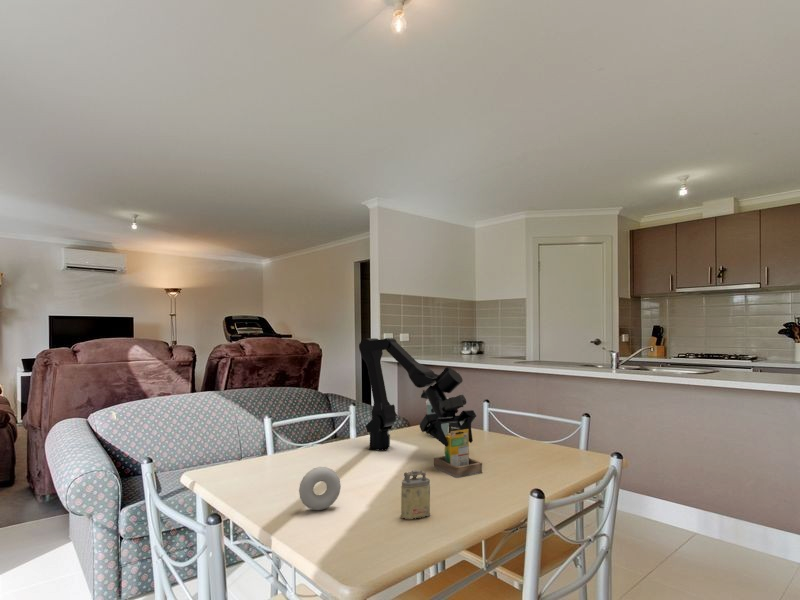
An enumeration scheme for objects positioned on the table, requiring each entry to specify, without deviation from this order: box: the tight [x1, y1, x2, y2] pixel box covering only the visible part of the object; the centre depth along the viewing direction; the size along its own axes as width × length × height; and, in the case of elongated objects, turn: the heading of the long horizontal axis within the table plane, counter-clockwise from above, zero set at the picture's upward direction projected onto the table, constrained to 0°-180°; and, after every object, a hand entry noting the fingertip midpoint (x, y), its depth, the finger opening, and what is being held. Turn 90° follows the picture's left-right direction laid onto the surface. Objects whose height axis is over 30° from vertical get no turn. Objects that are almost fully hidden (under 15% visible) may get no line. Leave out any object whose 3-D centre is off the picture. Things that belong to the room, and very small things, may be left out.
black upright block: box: [448, 422, 462, 434], centre depth 161 cm, size 7×4×11 cm, turn 47°
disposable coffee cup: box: [425, 397, 449, 438], centre depth 184 cm, size 11×11×15 cm
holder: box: [433, 455, 483, 479], centre depth 141 cm, size 10×12×3 cm
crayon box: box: [444, 429, 470, 467], centre depth 142 cm, size 7×3×12 cm, turn 122°
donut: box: [298, 466, 342, 511], centre depth 110 cm, size 10×4×10 cm, turn 113°
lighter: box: [400, 469, 431, 520], centre depth 107 cm, size 7×4×10 cm, turn 112°
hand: (459, 443), depth 141 cm, fingers open, 9 cm apart
